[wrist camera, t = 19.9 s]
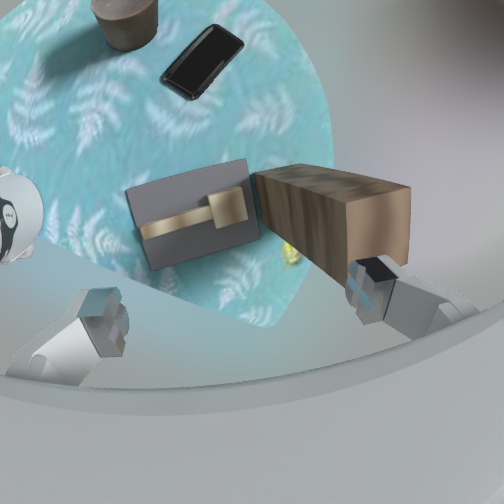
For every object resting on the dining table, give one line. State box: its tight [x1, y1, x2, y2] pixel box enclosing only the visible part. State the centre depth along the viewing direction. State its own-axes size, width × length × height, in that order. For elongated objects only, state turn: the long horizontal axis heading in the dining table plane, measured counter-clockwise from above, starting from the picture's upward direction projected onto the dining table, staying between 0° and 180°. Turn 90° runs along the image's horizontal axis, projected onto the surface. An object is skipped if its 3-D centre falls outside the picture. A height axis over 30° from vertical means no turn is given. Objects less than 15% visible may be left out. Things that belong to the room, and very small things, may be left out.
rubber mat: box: [126, 158, 260, 271], centre depth 49 cm, size 22×16×1 cm
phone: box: [163, 24, 244, 100], centre depth 39 cm, size 8×1×15 cm
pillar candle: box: [90, 0, 158, 51], centre depth 26 cm, size 10×10×15 cm
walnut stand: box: [253, 164, 411, 288], centre depth 41 cm, size 10×10×28 cm
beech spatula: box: [140, 186, 248, 240], centre depth 48 cm, size 19×6×2 cm, turn 101°
